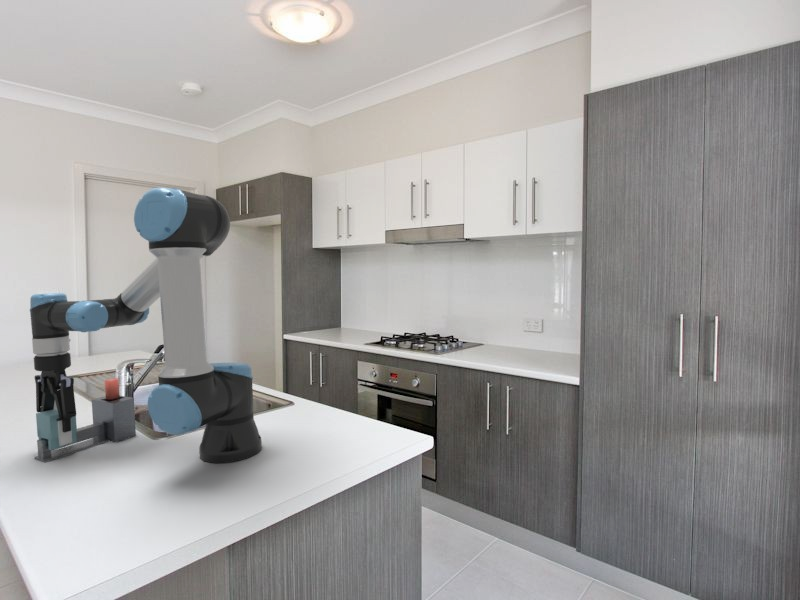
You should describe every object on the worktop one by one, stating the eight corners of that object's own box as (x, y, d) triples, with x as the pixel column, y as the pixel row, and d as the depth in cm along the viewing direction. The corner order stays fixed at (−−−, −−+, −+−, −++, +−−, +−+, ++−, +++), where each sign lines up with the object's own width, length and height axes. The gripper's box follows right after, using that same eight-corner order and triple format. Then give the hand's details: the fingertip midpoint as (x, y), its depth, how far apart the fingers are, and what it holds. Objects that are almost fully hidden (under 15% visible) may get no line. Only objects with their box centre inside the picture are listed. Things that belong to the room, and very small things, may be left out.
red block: (122, 396, 132) (121, 378, 132) (110, 399, 129) (109, 381, 129) (115, 395, 134) (114, 377, 134) (103, 398, 131) (102, 380, 131)
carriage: (77, 442, 121) (75, 410, 120) (51, 450, 115) (49, 416, 115) (64, 438, 123) (62, 407, 123) (38, 446, 118) (35, 413, 118)
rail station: (135, 435, 133) (133, 397, 132) (50, 464, 113) (47, 420, 113) (115, 430, 137) (112, 394, 137) (29, 457, 118) (26, 415, 117)
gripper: (89, 353, 117) (95, 442, 118) (48, 349, 126) (53, 431, 127) (56, 358, 110) (62, 452, 112) (15, 353, 119) (21, 440, 120)
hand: (58, 441), depth 119 cm, fingers closed on carriage, 6 cm apart
